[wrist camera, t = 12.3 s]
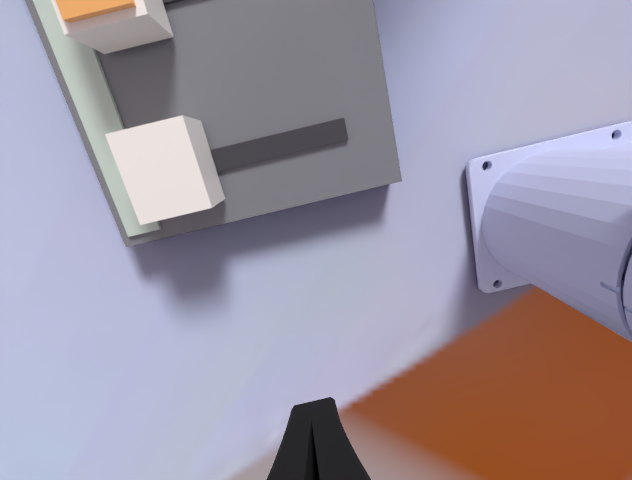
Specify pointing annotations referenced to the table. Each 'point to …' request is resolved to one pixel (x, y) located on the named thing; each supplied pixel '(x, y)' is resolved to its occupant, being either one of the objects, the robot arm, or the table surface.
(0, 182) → the table surface
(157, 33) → the lever
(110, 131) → the breaker panel
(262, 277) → the table surface
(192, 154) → the lever
